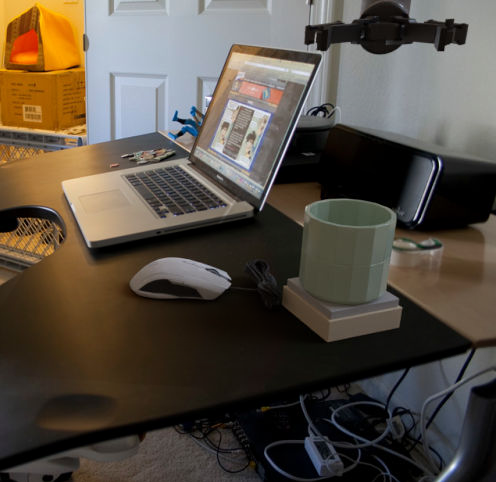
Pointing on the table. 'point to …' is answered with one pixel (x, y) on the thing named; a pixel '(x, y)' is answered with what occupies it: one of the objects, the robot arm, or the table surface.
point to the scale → (341, 313)
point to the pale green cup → (346, 250)
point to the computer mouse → (199, 280)
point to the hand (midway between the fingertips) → (381, 40)
